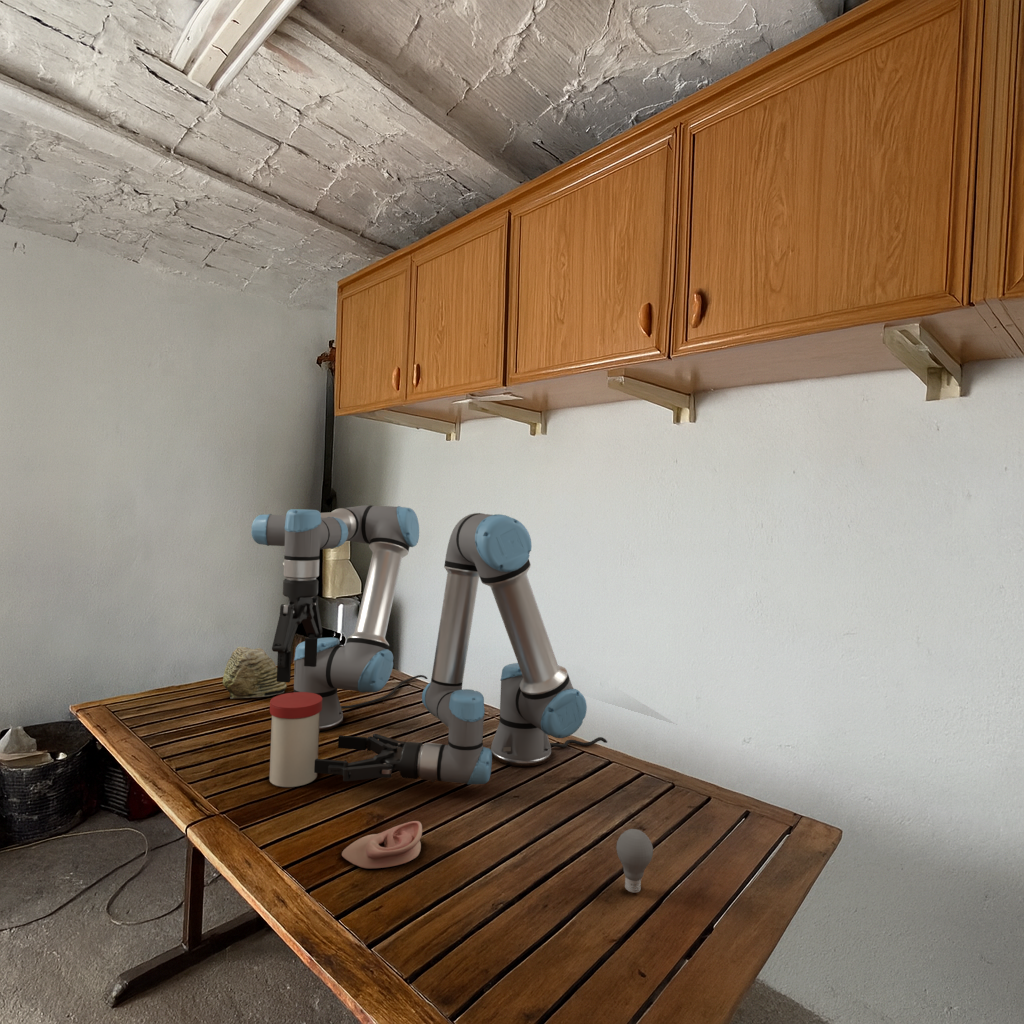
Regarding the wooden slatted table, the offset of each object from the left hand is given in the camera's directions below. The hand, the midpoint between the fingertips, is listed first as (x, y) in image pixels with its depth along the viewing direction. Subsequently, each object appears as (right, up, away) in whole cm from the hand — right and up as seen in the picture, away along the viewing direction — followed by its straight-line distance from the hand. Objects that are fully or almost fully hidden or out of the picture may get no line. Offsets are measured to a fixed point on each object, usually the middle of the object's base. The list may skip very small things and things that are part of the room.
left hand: (297, 673), depth 142 cm
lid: (0, -6, 0) cm, 6 cm away
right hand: (+7, -17, -1) cm, 19 cm away
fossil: (-32, -21, +56) cm, 68 cm away
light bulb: (+68, -27, -36) cm, 82 cm away
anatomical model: (+25, -25, -28) cm, 45 cm away
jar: (-1, -23, 0) cm, 23 cm away
